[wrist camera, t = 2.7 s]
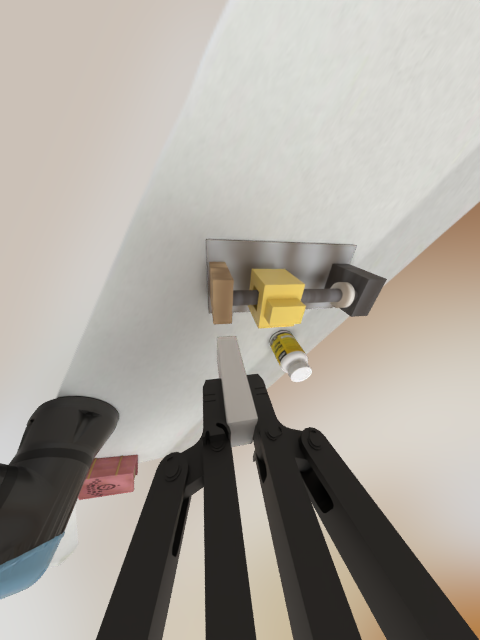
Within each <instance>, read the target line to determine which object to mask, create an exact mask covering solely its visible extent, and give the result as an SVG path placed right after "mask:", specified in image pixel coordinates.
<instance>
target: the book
mask: <svg viewBox="0 0 480 640" xmlns="http://www.w3.org/2000/svg"><path fill="white" fill-rule="evenodd" d="M137 473H138V455H131V456H120V457H109V458H98V459H97V458H95V459H93V462H92V464H91V466H90V469H89V471H88V474H87V476H86V479H85V481H84V484H83V486H82V489H81V491H80V494H79V496H78V498H79V500H82V499H89V498H95V497H102V496H108V495H115V494H121V493H128V492H133V491H134V478H135V475H137Z"/></svg>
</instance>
